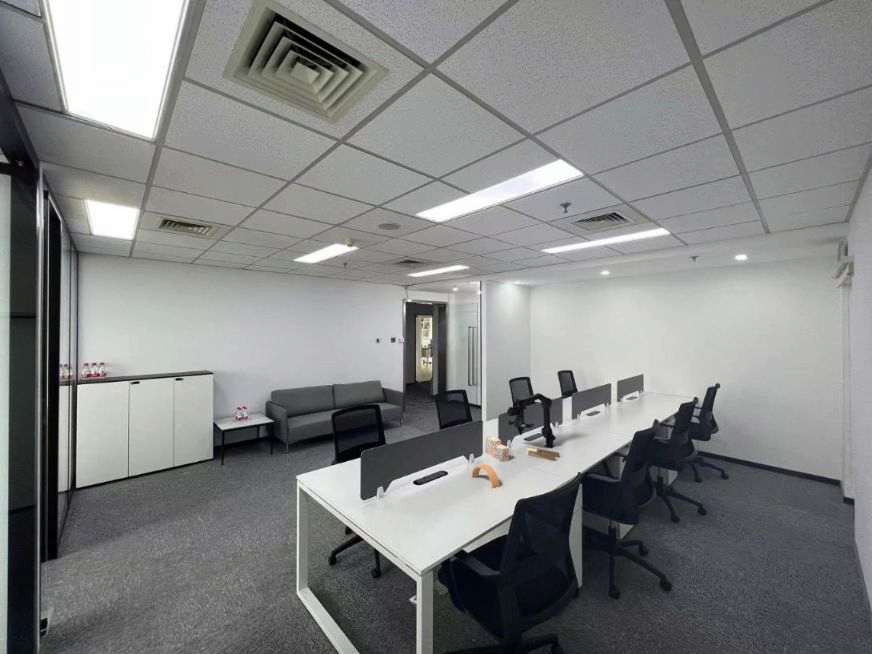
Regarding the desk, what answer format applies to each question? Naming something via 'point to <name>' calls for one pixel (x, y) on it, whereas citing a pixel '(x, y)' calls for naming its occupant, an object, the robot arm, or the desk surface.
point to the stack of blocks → (496, 449)
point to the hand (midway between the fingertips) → (520, 434)
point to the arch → (489, 471)
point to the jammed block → (533, 449)
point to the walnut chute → (544, 454)
